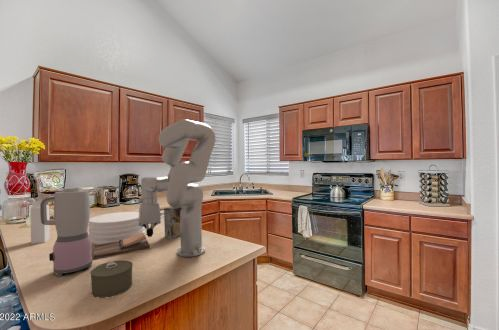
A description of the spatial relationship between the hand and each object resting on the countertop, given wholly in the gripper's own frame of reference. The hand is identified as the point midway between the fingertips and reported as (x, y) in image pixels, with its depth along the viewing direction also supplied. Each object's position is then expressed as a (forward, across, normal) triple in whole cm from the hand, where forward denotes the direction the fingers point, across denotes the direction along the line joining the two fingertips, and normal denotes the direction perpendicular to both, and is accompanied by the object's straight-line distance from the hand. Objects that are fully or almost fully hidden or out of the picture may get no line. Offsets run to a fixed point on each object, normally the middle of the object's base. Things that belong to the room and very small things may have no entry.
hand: (149, 236), depth 122 cm
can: (+4, -18, -41) cm, 45 cm away
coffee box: (+4, +14, +7) cm, 16 cm away
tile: (0, -8, 0) cm, 8 cm away
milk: (+4, -50, +38) cm, 63 cm away
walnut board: (+4, -13, 0) cm, 13 cm away
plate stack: (+4, -13, +25) cm, 28 cm away
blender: (+4, -32, -16) cm, 36 cm away
